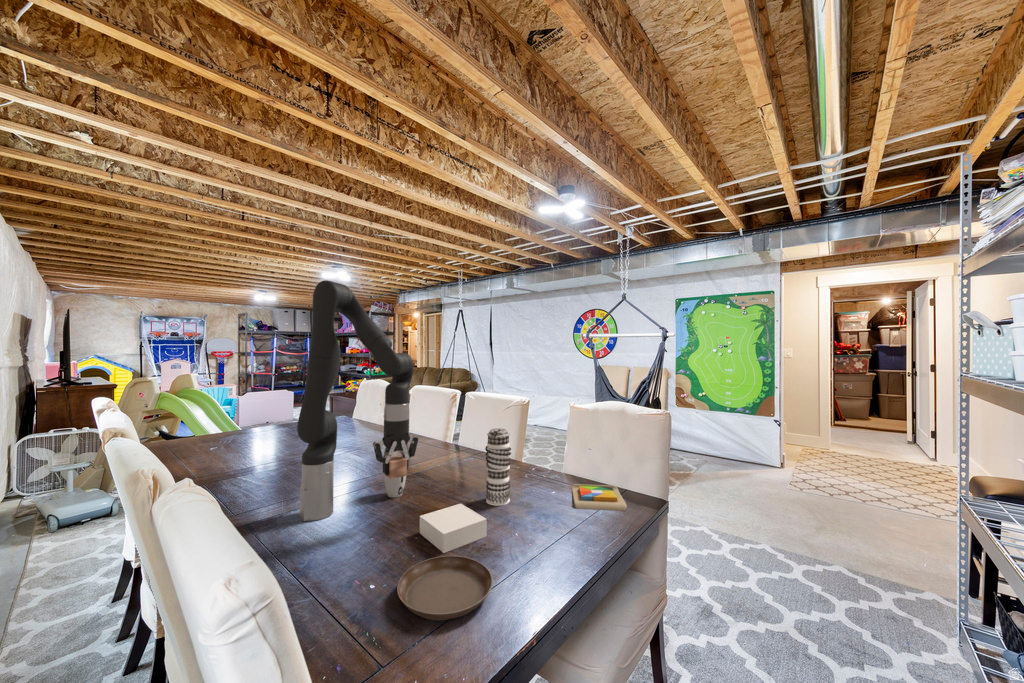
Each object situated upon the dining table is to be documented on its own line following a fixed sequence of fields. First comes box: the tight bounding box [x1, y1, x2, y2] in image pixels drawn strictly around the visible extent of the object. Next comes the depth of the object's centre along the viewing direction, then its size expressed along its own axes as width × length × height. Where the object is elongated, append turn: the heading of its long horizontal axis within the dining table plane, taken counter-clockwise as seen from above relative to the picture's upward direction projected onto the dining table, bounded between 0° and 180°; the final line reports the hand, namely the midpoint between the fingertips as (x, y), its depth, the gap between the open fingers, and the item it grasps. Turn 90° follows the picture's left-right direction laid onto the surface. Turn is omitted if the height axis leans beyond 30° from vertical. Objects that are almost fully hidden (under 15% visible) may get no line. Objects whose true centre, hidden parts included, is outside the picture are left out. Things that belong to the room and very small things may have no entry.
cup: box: [383, 473, 407, 498], centre depth 141 cm, size 8×8×10 cm
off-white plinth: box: [419, 502, 488, 554], centre depth 112 cm, size 14×14×5 cm
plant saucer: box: [396, 555, 494, 621], centre depth 85 cm, size 21×21×3 cm
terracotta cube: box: [387, 455, 408, 479], centre depth 119 cm, size 5×5×5 cm
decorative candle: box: [485, 428, 512, 507], centre depth 136 cm, size 9×9×25 cm
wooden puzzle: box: [571, 483, 628, 512], centre depth 139 cm, size 18×19×4 cm
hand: (395, 472), depth 119 cm, fingers closed on terracotta cube, 5 cm apart
